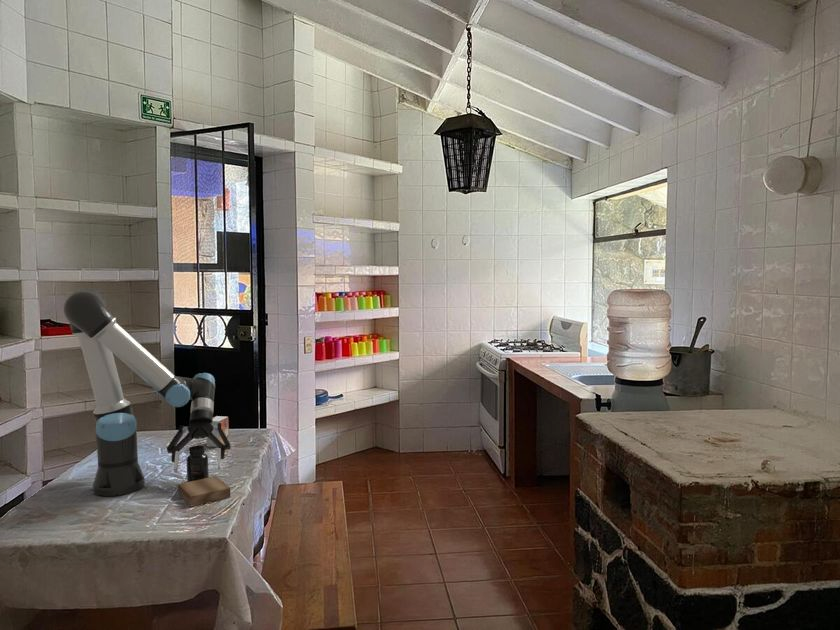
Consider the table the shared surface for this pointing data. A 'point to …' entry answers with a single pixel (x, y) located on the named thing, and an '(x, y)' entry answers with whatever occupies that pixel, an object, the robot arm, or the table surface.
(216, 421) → the small box
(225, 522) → the table surface
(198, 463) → the supplement bottle
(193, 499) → the brown flat block
